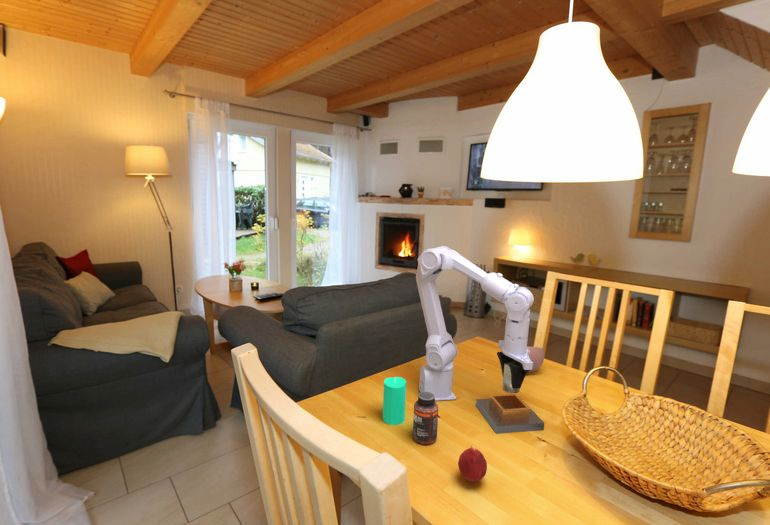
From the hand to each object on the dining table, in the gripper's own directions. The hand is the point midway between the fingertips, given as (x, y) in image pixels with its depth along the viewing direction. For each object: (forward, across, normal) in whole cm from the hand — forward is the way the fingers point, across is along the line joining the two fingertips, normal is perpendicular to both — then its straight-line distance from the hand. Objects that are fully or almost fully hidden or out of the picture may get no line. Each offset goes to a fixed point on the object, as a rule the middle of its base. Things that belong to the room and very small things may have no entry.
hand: (511, 383), depth 102 cm
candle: (+10, +3, +31) cm, 33 cm away
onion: (+10, -21, +19) cm, 30 cm away
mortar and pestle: (+10, +26, -19) cm, 34 cm away
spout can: (+2, 0, 0) cm, 2 cm away
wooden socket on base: (+10, 0, 0) cm, 10 cm away
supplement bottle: (+10, -6, +25) cm, 28 cm away
